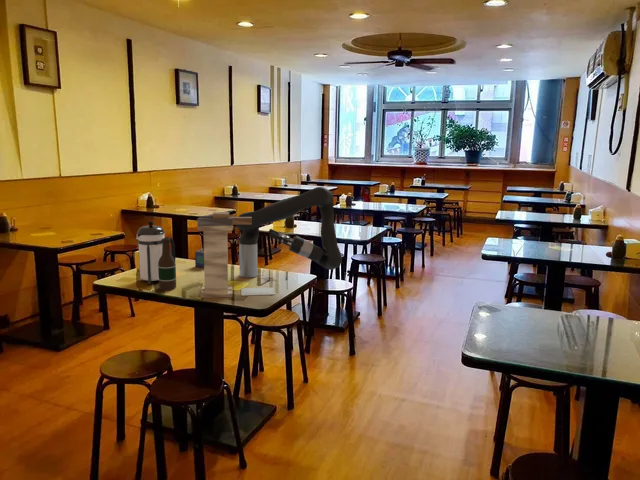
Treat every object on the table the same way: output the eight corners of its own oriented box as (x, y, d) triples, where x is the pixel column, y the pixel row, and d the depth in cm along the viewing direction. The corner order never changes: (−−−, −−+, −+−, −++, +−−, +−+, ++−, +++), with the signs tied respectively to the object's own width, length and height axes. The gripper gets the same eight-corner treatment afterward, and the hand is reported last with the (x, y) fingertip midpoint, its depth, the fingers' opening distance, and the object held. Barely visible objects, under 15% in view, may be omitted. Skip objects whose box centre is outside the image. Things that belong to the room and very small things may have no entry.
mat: (241, 289, 233) (241, 288, 233) (272, 288, 236) (272, 287, 236) (241, 296, 223) (241, 295, 223) (274, 295, 225) (274, 294, 225)
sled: (213, 223, 223) (213, 212, 222) (251, 222, 226) (251, 212, 225) (212, 225, 217) (212, 213, 216) (251, 225, 220) (251, 213, 219)
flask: (210, 268, 272) (209, 249, 270) (206, 269, 270) (206, 249, 268) (197, 266, 277) (196, 247, 275) (193, 267, 274) (193, 248, 272)
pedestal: (201, 289, 232) (199, 215, 225) (233, 288, 234) (232, 215, 228) (198, 298, 218) (196, 219, 212) (233, 297, 221) (232, 219, 214)
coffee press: (165, 285, 237) (163, 223, 231) (132, 284, 237) (129, 222, 232) (176, 276, 254) (174, 218, 248) (145, 275, 254) (143, 217, 249)
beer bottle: (155, 289, 231) (153, 238, 226) (167, 285, 237) (165, 236, 233) (167, 291, 227) (165, 240, 223) (179, 287, 234) (178, 237, 229)
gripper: (303, 237, 235) (272, 222, 232) (306, 242, 221) (274, 227, 218) (296, 251, 236) (265, 236, 232) (299, 257, 222) (266, 242, 218)
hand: (269, 232), depth 225 cm, fingers open, 8 cm apart
